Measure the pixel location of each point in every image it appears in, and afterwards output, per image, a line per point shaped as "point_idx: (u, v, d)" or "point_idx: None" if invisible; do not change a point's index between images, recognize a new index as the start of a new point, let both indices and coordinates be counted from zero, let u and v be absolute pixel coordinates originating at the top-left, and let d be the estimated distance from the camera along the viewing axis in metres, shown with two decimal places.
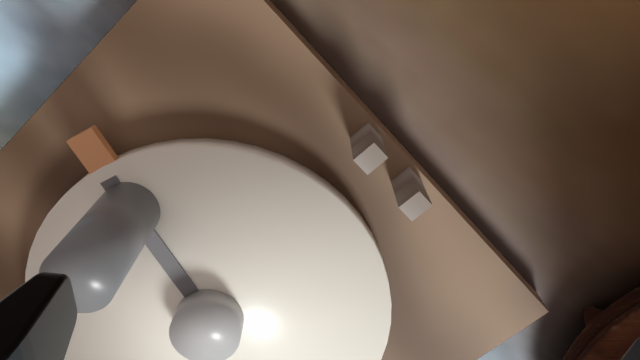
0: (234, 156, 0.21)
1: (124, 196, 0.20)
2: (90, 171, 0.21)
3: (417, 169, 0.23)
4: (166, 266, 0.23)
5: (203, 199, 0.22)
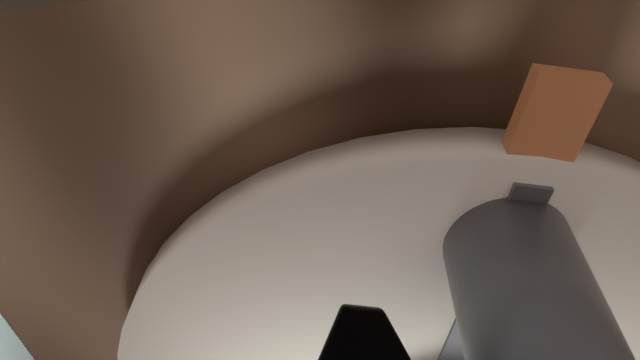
0: None
1: (588, 266, 0.09)
2: (513, 150, 0.09)
3: None
4: (452, 337, 0.12)
5: (622, 295, 0.11)
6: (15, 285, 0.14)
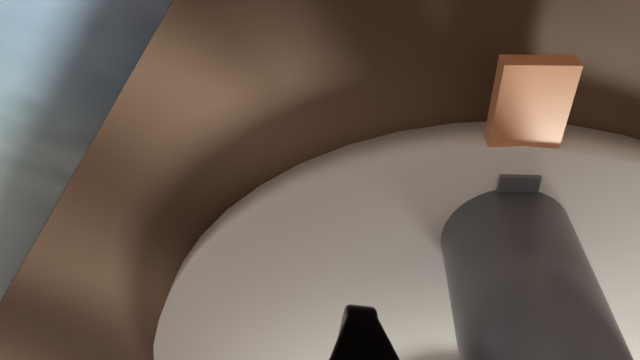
0: None
1: (581, 252, 0.09)
2: (493, 142, 0.09)
3: None
4: None
5: None
6: None
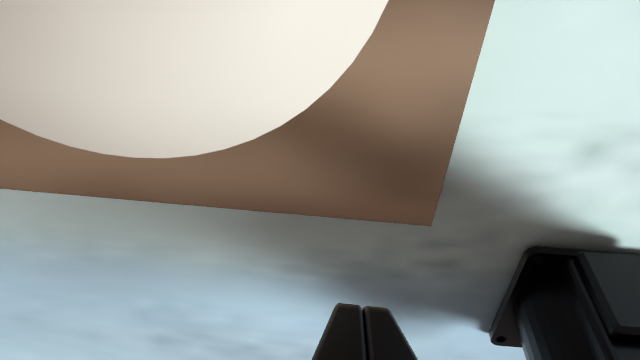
0: None
1: None
2: None
3: None
4: None
5: None
6: (30, 172, 0.20)
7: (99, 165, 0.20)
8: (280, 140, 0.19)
